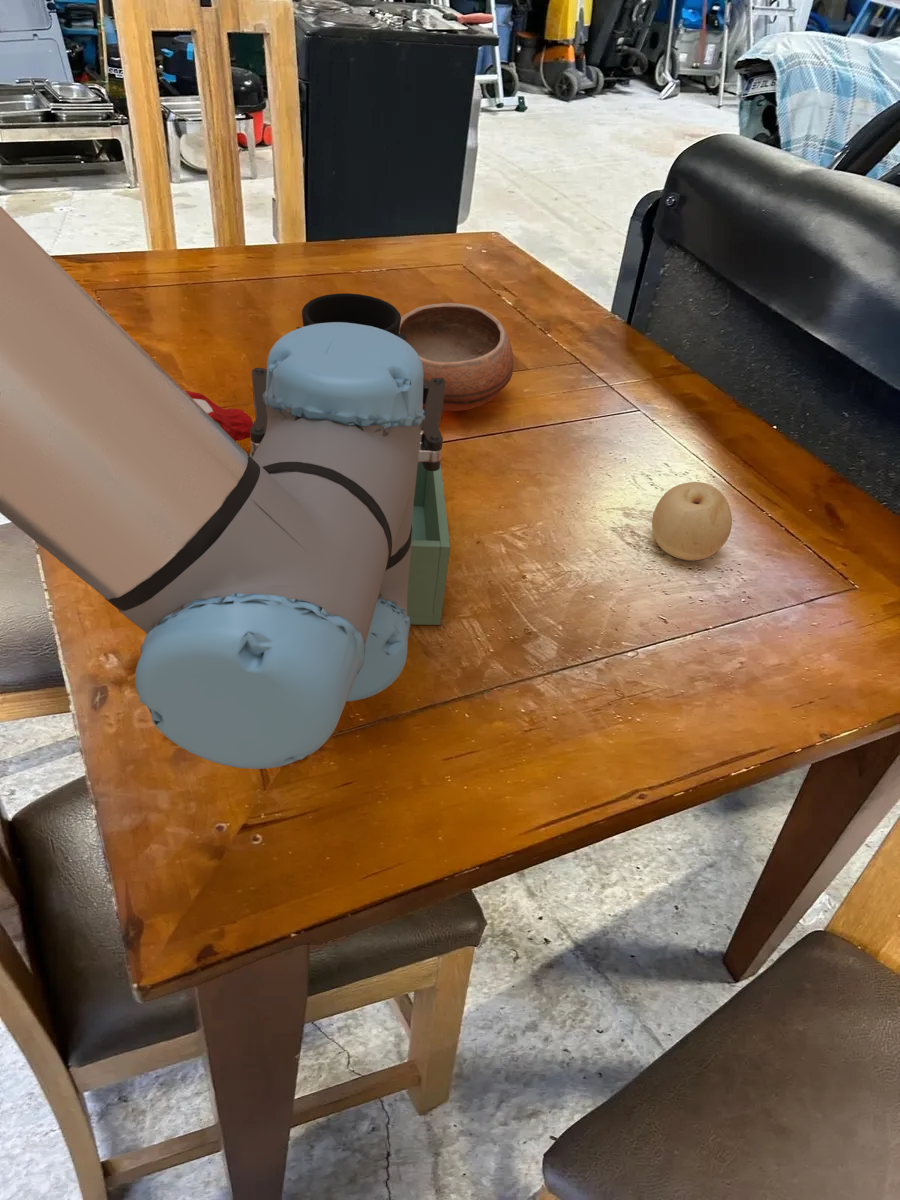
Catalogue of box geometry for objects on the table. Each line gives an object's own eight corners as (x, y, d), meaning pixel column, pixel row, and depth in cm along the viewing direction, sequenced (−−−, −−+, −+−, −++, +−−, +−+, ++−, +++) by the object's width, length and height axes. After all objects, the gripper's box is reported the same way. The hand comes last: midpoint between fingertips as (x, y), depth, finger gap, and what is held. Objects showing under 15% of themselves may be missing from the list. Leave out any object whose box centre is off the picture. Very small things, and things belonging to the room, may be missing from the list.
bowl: (359, 405, 108) (362, 327, 101) (417, 357, 119) (423, 284, 112) (476, 444, 103) (487, 365, 97) (525, 390, 115) (537, 317, 108)
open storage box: (240, 620, 78) (234, 539, 72) (259, 503, 91) (255, 426, 85) (440, 625, 80) (450, 546, 74) (429, 510, 93) (437, 435, 87)
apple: (732, 535, 94) (759, 506, 87) (684, 586, 92) (708, 560, 85) (676, 487, 95) (698, 455, 88) (628, 536, 93) (646, 507, 86)
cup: (371, 480, 73) (378, 343, 65) (288, 456, 74) (284, 319, 67) (405, 436, 79) (415, 306, 71) (327, 415, 80) (328, 285, 72)
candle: (90, 458, 93) (220, 436, 102) (138, 511, 87) (271, 482, 96) (86, 377, 87) (223, 361, 97) (136, 428, 81) (277, 406, 90)
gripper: (191, 539, 60) (231, 378, 77) (491, 550, 62) (465, 391, 79) (179, 443, 55) (225, 294, 72) (506, 459, 57) (475, 311, 74)
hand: (351, 345), depth 75 cm, fingers closed on cup, 8 cm apart
